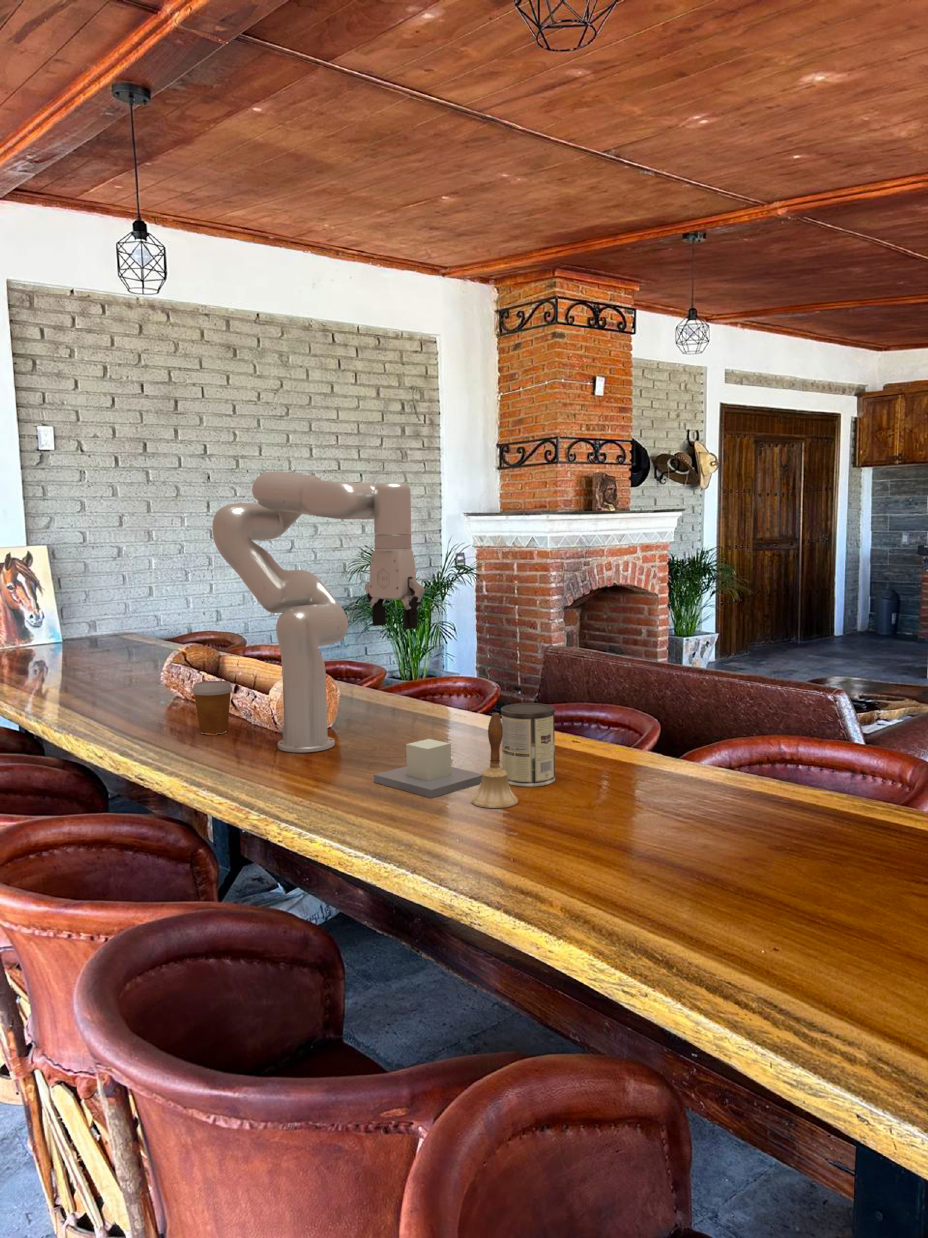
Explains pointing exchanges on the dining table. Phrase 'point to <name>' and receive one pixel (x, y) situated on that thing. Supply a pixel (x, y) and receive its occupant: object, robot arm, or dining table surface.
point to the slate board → (425, 787)
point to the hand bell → (495, 774)
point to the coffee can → (528, 744)
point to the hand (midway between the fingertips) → (394, 626)
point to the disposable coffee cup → (212, 705)
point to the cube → (428, 759)
